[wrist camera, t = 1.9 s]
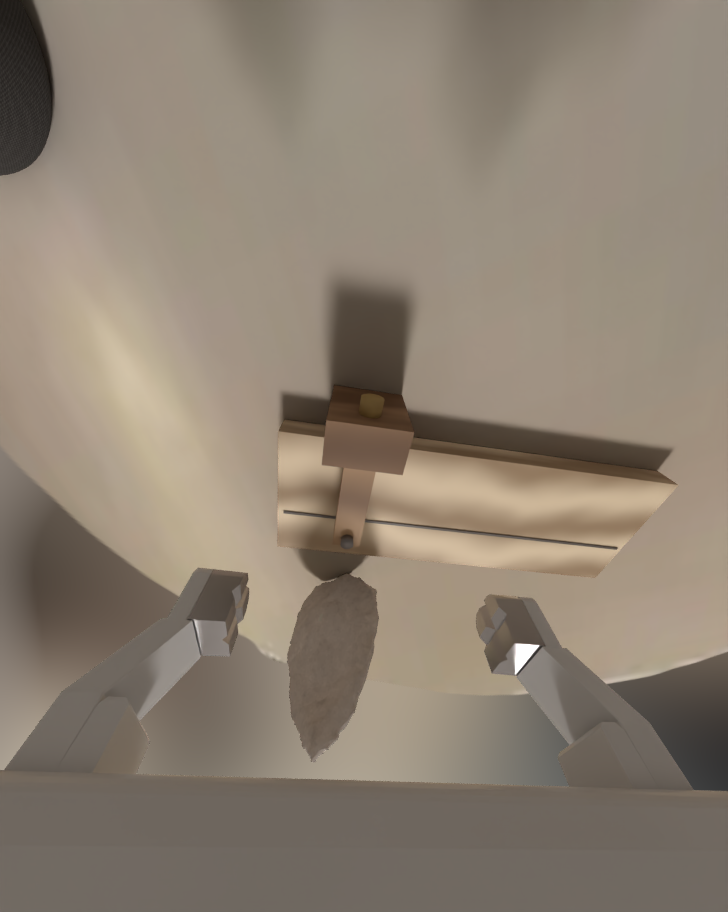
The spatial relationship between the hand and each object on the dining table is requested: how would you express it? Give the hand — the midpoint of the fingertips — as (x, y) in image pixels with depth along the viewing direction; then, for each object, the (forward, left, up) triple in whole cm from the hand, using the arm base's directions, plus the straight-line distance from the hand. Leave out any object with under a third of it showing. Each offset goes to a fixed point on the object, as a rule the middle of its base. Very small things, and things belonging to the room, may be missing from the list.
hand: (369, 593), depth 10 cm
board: (+7, +10, -15) cm, 19 cm away
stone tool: (+19, 0, -15) cm, 24 cm away
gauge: (+3, 0, -15) cm, 15 cm away
